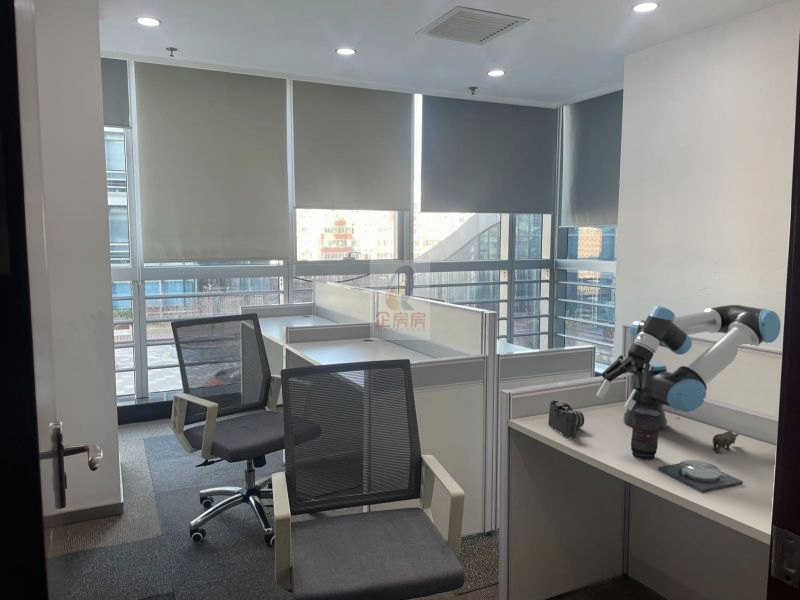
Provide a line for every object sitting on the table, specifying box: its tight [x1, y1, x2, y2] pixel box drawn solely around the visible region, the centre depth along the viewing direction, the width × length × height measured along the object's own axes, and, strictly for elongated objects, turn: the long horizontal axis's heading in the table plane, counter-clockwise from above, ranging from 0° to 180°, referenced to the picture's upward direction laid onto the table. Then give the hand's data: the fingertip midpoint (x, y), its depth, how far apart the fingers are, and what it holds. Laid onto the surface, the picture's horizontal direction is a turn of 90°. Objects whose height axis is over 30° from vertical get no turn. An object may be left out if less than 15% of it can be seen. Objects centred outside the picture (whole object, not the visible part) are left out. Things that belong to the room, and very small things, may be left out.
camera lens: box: [630, 408, 661, 461], centre depth 189 cm, size 8×8×15 cm
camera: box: [547, 399, 585, 438], centre depth 212 cm, size 14×11×10 cm
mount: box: [657, 459, 744, 494], centre depth 175 cm, size 16×16×3 cm
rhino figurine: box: [712, 430, 739, 454], centre depth 198 cm, size 4×14×6 cm, turn 123°
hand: (612, 402), depth 196 cm, fingers open, 13 cm apart
